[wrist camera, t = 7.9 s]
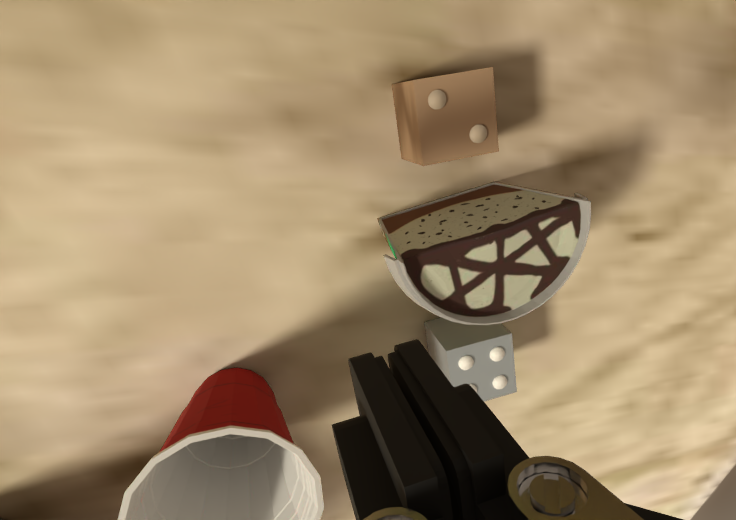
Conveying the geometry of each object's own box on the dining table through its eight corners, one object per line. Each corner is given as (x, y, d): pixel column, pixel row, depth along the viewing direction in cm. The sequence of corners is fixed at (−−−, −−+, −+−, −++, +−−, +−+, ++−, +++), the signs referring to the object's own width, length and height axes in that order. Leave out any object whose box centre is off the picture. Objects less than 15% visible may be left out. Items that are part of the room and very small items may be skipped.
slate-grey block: (423, 321, 39) (447, 352, 34) (482, 306, 39) (512, 334, 34) (431, 375, 40) (455, 411, 35) (487, 359, 41) (517, 393, 36)
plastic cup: (335, 398, 39) (364, 515, 28) (232, 481, 39) (219, 630, 28) (242, 305, 35) (232, 397, 24) (128, 398, 35) (65, 533, 24)
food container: (378, 299, 37) (417, 362, 28) (357, 224, 35) (392, 266, 26) (524, 250, 38) (608, 295, 29) (512, 175, 36) (599, 198, 27)
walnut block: (391, 84, 33) (413, 79, 28) (460, 73, 33) (494, 66, 29) (401, 158, 34) (424, 166, 30) (467, 145, 35) (499, 151, 30)
